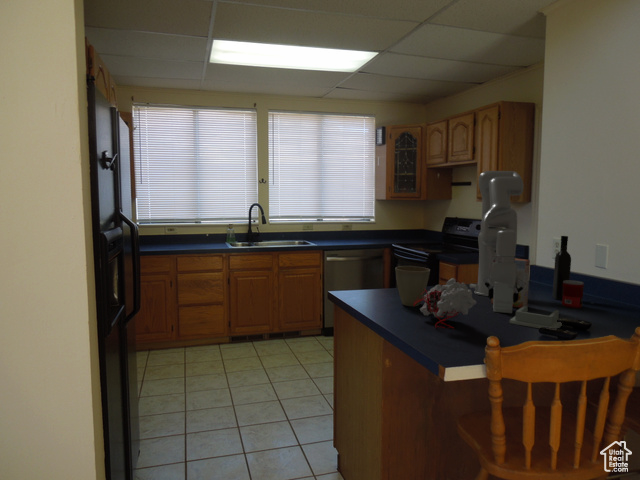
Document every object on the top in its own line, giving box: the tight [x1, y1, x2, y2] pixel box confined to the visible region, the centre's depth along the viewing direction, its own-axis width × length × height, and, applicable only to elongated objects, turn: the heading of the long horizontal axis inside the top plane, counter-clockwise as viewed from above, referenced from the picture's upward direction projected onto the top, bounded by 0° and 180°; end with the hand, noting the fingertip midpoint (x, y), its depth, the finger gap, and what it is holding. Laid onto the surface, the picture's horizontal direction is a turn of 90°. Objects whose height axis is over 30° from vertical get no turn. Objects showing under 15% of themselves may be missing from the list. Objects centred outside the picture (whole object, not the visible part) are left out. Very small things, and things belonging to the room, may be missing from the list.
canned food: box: [561, 279, 585, 309], centre depth 203 cm, size 8×8×11 cm
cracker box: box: [490, 257, 531, 309], centre depth 203 cm, size 14×6×21 cm, turn 47°
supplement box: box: [492, 282, 514, 314], centre depth 192 cm, size 7×7×13 cm
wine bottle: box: [552, 235, 572, 301], centre depth 217 cm, size 6×6×30 cm
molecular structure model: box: [412, 277, 477, 330], centre depth 169 cm, size 20×18×25 cm
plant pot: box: [394, 265, 431, 307], centre depth 200 cm, size 15×15×16 cm
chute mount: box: [509, 305, 563, 329], centre depth 174 cm, size 16×14×5 cm
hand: (502, 300), depth 192 cm, fingers open, 9 cm apart
